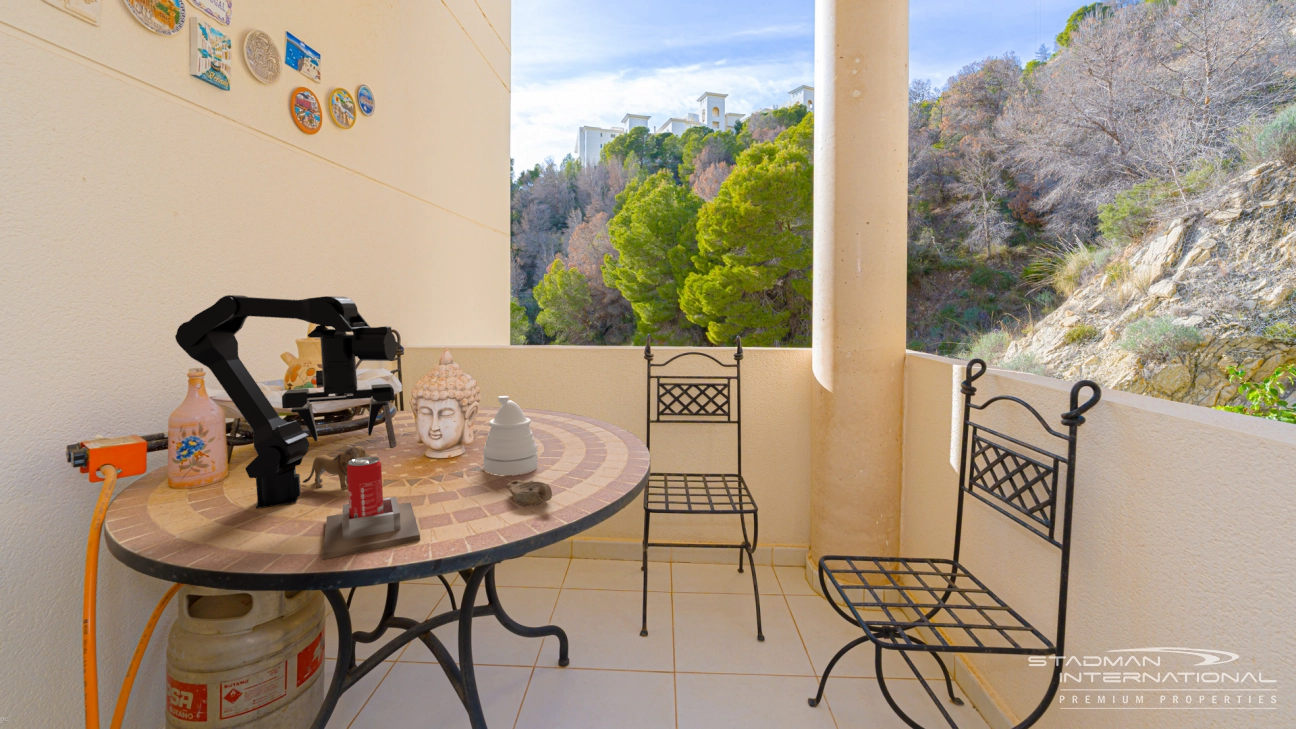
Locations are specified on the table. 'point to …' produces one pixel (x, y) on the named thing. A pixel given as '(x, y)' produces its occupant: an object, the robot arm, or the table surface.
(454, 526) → the table surface
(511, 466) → the honey pot
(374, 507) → the beverage can
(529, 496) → the oil lamp
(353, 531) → the can socket board
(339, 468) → the lion figurine
